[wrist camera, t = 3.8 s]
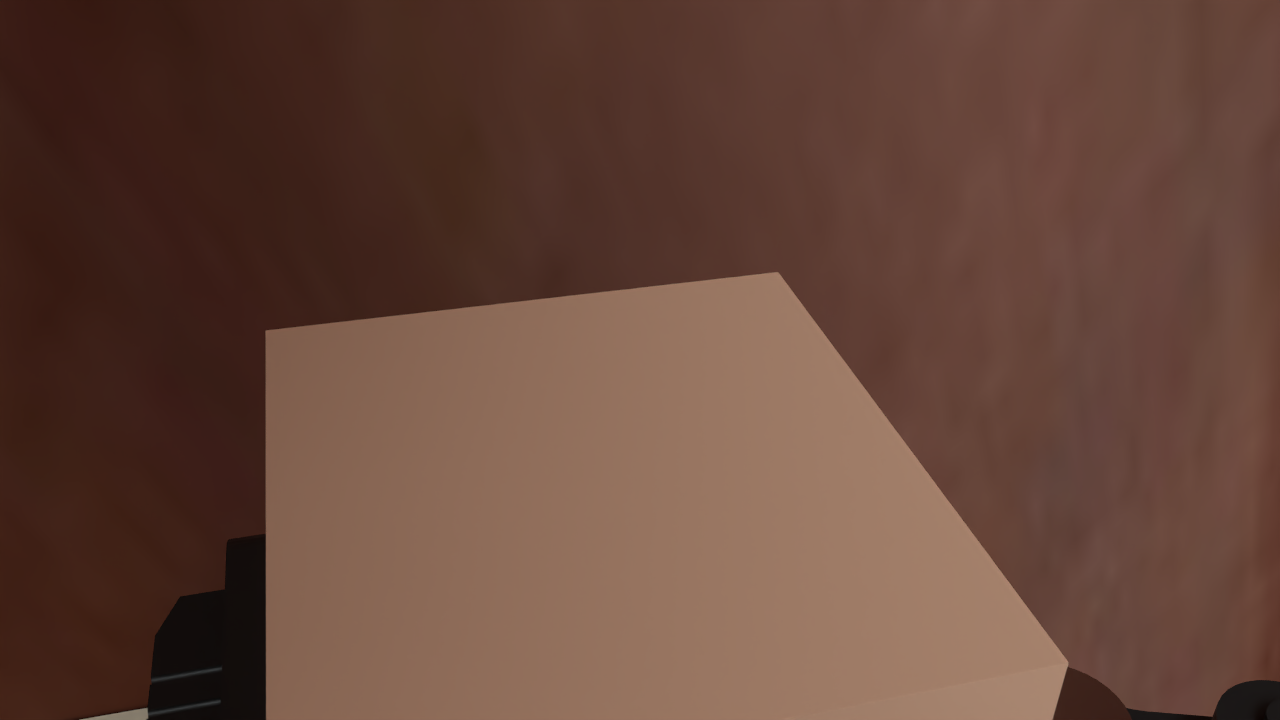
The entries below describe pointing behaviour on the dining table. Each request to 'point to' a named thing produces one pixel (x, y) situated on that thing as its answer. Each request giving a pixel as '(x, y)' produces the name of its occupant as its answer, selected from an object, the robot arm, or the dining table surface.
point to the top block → (618, 524)
